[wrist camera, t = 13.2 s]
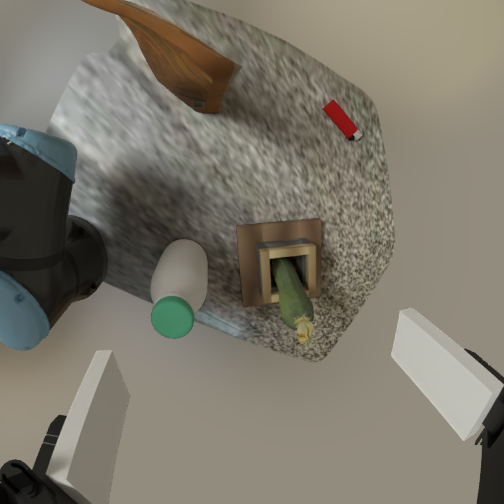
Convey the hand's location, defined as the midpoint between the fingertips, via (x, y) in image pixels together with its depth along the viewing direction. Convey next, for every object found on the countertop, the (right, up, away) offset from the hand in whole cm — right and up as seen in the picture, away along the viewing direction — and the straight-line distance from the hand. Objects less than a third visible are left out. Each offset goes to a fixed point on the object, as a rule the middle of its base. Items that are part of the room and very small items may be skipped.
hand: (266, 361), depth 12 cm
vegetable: (+4, +3, +39) cm, 39 cm away
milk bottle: (-12, +3, +36) cm, 38 cm away
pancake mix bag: (-12, +31, +28) cm, 43 cm away
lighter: (+15, +27, +34) cm, 46 cm away
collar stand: (+4, +3, +38) cm, 39 cm away
